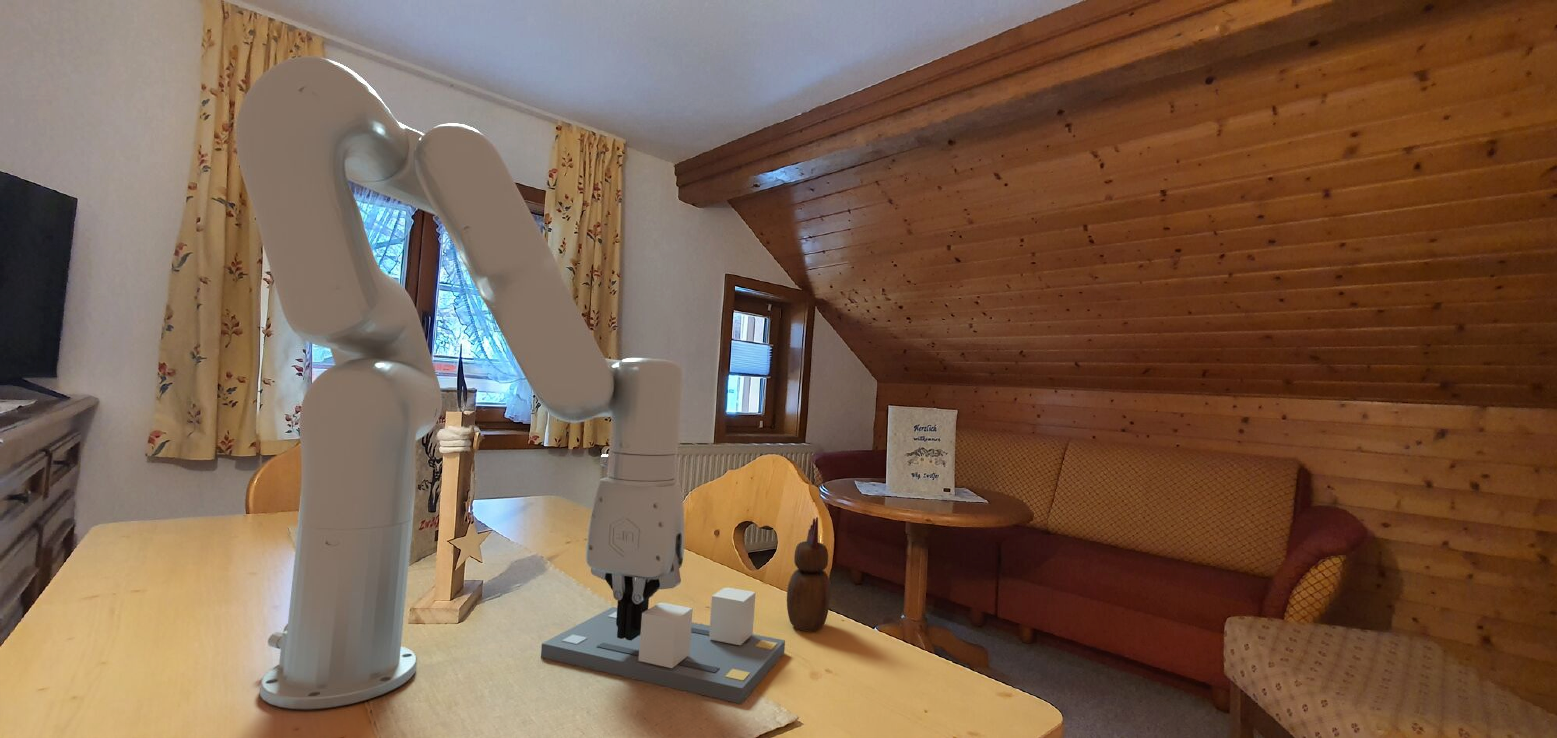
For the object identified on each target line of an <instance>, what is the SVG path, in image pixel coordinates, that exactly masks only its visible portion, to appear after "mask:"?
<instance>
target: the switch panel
mask: <svg viewBox="0 0 1557 738" xmlns="http://www.w3.org/2000/svg"><path fill="white" fill-rule="evenodd" d="M616 618H617V607H615V606H614V607H613V606H612V607H610V608H608V609H606V610H605V611H602V612H600V613H599V614H596V615H594V616H593V617H590V618H589V619H587V620H585V621H583V622H581V623H578V624H577V625H575V626H573V627H571V628H569V629H568V630H565V631H563V632H561V633H559V634H557V635H555V636H553V637H552V638H550V639H548V640H546V641H544V642H542V643H541V651H540V658H543V659H548V660H551V661H556V662H561V663H565V664H568V665H573V666H577V667H581V668H585V669H590V670H594V671H597V672H603V673H606V674H612V675H615V676H619V677H625V678H629V679H632V680H637V681H642V682H644V683H645V682H646V683H650V684H655V685H659V686H663V687H668V688H671V689H677V690H679V691H680V690H681V691H685V692H689V693H693V694H697V695H702V696H707V697H710V698H715V699H720V700H722V701H723V700H724V701H727V702H731V703H735V704H742V703H744V701H745V700H746V699H747V697H748V696H750V694H751V693H752V692H753V691H754V690H755V688H756V687H757V686H758V685H759V684H760V682H761V681H762V680H763V679H764V678H765V676H766V675H768V673H769V672H770V670H771V669H773V667H774V666H775V665H776V663H777V662H778V661H779V660H780V659H781V658H782V657H783V655H784V654H785V649H786V640H785V639H779V638H775V637H770V636H766V635H759V634H755V633H753V634H752V635H751V636H750V637H749V638H748V639H747V640H746V641H745V642H744V643H743V644H742V645H736V644H731V643H726V642H721V641H716V640H711V639H709V631H710V624H709V625H708V624H702V623H697V622H693V621H692V625H691V639H690V653H689V655H688V656H687V657H686V658H684V659H683V660H682V661H681V662H679V663H678V664H677V665H676V666H674V667H673V668H669V667H664V666H660V665H655V664H651V663H646V662H642V661H638V660H639V647H640V635H639V636H637V637H636V638H634V639H633V640H631V641H630V640H626V638H623V639H620V638H617V629H618V627H617V625H616ZM749 693H750V694H749Z"/></svg>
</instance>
